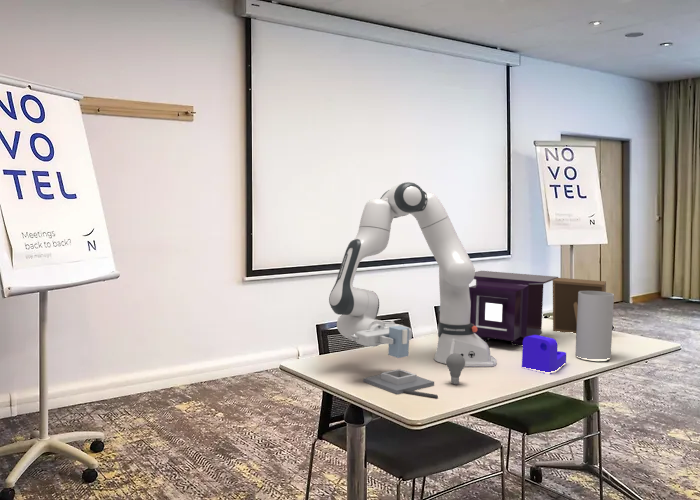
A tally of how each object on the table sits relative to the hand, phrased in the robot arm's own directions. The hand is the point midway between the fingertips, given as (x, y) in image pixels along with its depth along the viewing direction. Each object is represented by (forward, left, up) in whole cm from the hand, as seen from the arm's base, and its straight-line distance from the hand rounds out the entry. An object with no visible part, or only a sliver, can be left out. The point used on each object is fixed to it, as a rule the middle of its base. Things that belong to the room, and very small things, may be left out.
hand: (400, 340), depth 196 cm
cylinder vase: (-72, -47, -14) cm, 87 cm away
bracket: (-52, -31, -14) cm, 63 cm away
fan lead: (-7, +10, -14) cm, 19 cm away
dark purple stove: (-42, -72, -14) cm, 84 cm away
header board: (0, -1, -14) cm, 14 cm away
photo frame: (-76, -89, -14) cm, 117 cm away
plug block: (+1, -1, -5) cm, 5 cm away
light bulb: (-18, -4, -14) cm, 23 cm away
